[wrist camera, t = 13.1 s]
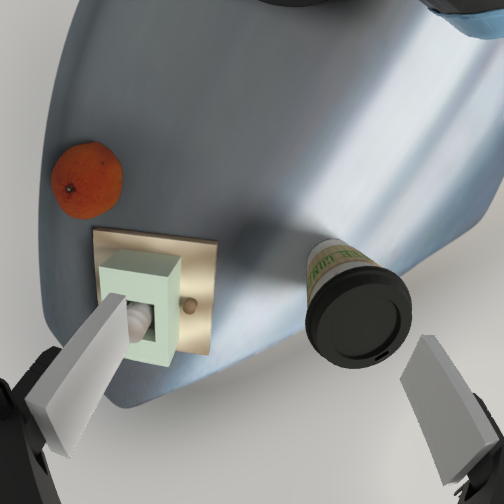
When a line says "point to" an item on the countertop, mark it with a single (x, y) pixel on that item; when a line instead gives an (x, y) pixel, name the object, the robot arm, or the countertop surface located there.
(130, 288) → the green block with window
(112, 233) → the post base
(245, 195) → the countertop surface
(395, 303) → the coffee cup
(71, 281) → the countertop surface
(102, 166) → the fruit
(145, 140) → the countertop surface
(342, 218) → the countertop surface
